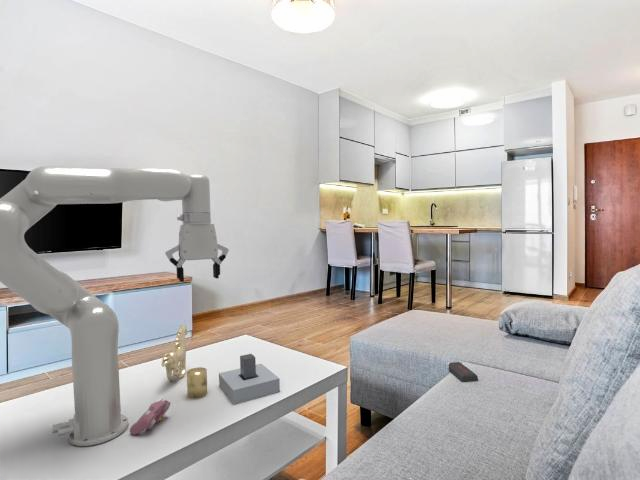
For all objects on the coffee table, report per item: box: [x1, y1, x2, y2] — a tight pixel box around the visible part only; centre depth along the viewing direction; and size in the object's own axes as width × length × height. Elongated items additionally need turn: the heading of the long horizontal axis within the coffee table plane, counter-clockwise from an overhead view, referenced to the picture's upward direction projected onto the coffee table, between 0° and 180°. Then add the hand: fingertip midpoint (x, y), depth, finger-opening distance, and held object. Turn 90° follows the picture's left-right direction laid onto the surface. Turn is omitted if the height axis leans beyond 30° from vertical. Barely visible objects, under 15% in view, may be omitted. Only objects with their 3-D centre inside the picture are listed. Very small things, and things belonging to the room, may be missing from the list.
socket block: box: [218, 363, 281, 405], centre depth 113 cm, size 14×14×4 cm
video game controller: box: [129, 398, 171, 436], centre depth 93 cm, size 10×5×7 cm, turn 170°
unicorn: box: [161, 320, 188, 382], centre depth 121 cm, size 20×4×17 cm, turn 0°
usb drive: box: [446, 361, 479, 383], centre depth 121 cm, size 5×12×3 cm, turn 7°
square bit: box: [239, 353, 257, 380], centre depth 113 cm, size 4×4×10 cm
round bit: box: [186, 366, 209, 400], centre depth 110 cm, size 6×6×7 cm
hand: (199, 279), depth 106 cm, fingers open, 9 cm apart
